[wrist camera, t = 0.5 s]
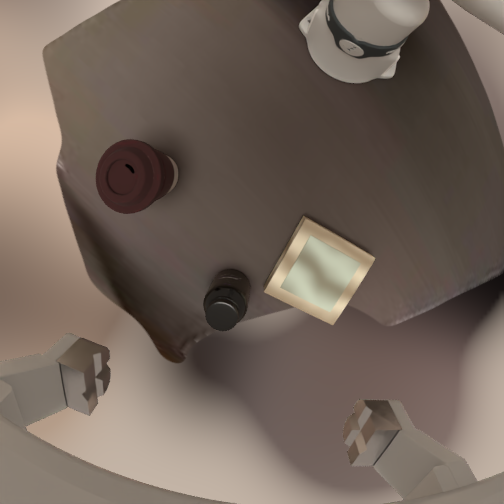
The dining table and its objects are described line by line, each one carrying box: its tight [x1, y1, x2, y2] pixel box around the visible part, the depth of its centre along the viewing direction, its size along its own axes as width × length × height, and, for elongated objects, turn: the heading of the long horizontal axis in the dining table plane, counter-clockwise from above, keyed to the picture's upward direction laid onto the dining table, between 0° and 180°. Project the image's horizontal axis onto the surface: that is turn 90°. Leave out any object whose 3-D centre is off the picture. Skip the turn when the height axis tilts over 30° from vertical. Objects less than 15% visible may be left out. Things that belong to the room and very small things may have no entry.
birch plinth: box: [264, 216, 375, 325], centre depth 51 cm, size 14×14×3 cm
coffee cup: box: [96, 139, 178, 214], centre depth 42 cm, size 10×10×15 cm
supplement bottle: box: [203, 270, 250, 331], centre depth 48 cm, size 7×7×12 cm
